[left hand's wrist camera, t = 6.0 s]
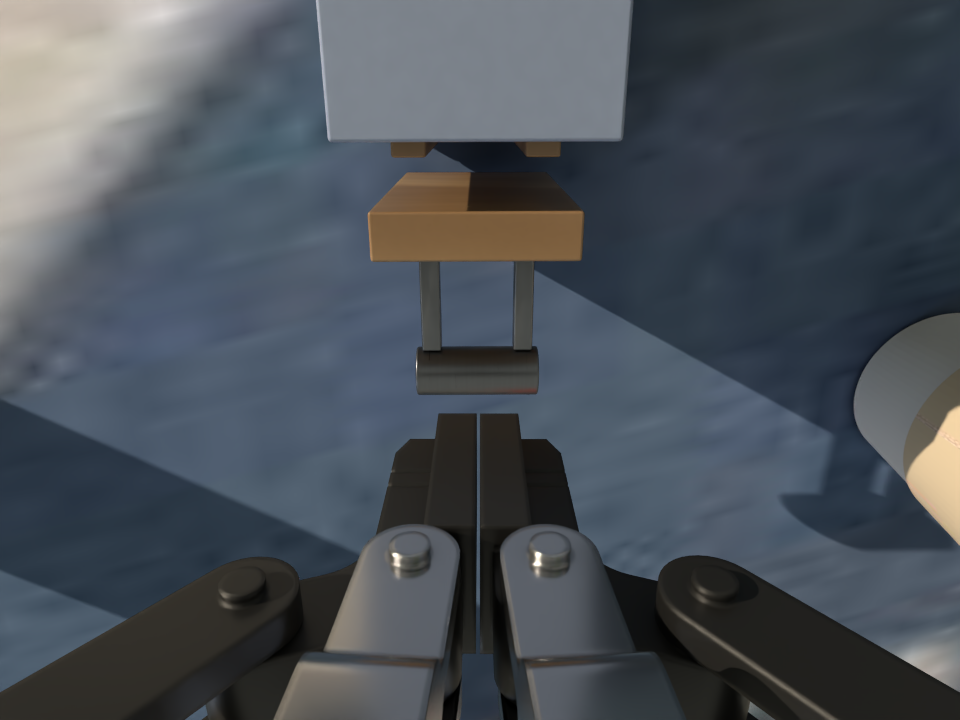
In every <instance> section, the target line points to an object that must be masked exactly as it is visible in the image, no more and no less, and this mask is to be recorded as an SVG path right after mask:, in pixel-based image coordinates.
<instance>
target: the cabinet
mask: <svg viewBox="0 0 960 720" xmlns="http://www.w3.org/2000/svg"><path fill="white" fill-rule="evenodd" d="M633 1H634V0H316V5H317V17H318V28H319V40H320V51H321V63H322V75H323V86H324V98H325V110H326V121H327V133H328V139H329V141H330V142H582V141H621V140H622V139H623V134H624V121H625V108H626V94H627V81H628V68H629V54H630V41H631V28H632V14H633Z"/></svg>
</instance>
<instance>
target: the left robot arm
mask: <svg viewBox="0 0 960 720" xmlns="http://www.w3.org/2000/svg"><path fill="white" fill-rule="evenodd" d="M388 484H389V485H388V487H387V491H386V495H385V500H384V504H383V508H382V512H381V516H380V520H379V524H378V529H377V533H376V535H375V536H374V537H373V538H371V539H370V540H369V541H368V542H367V543H366V545H365V546H364V548H363V550H362V551H361V554H360V557H359V559H358V561H356V562H355V563H353V564H351V565H349V566H347V567H345V568H344V569H341V570H338V571H336V572H333V573H329V574H325V575H321V576H317V577H312V578H308V579H304V580H299V577H298V574H297V572H296V571H295V569H294V568H293V567H292V566H291V565H289V564H288V563H286V562H284V561H282V560H279V559H276V558H270V557H250V558H245V559H240V560H236V561H233V562H230V563H227V564H225V565H222V566H220V567H218V568H216V569H214V570H213V571H211V572H209V573H207V574H206V575H204V576H202V577H200V578H199V579H197V580H195V581H193V582H192V583H190V584H188V585H186V586H185V587H183V588H181V589H180V590H178V591H176V592H174V593H173V594H171V595H169V596H167V597H166V598H164V599H162V600H160V601H159V602H157V603H155V604H153V605H152V606H150V607H148V608H146V609H145V610H143V611H141V612H139V613H138V614H136V615H134V616H133V617H131V618H129V619H127V620H126V621H124V622H122V623H120V624H119V625H117V626H115V627H113V628H112V629H110V630H108V631H106V632H105V633H103V634H101V635H99V636H98V637H96V638H94V639H93V640H91V641H89V642H87V643H86V644H84V645H82V646H80V647H79V648H77V649H75V650H73V651H72V652H70V653H68V654H66V655H65V656H63V657H61V658H59V659H58V660H56V661H54V662H52V663H51V664H49V665H47V666H46V667H44V668H42V669H40V670H39V671H37V672H35V673H33V674H32V675H30V676H28V677H26V678H25V679H23V680H21V681H19V682H18V683H16V684H14V685H12V686H11V687H9V688H7V689H6V690H4V691H2V692H0V720H185V719H186V718H188V717H189V716H190V715H192V714H193V713H194V712H196V711H197V710H198V709H200V708H201V707H203V706H204V705H205V704H206V709H207V714H208V715H207V716H206V717H205V718H203V719H202V720H460V714H461V706H462V654H476V554H477V414H439V415H438V421H437V429H436V436H435V439H410V440H409V441H408V442H407V443H406V444H405V445H404V446H403V447H402V448H401V449H399V450H398V451H397V452H396V454H395V458H394V462H393V466H392V473H391V475H390V479H389V483H388ZM480 654H493V659H494V678H495V682H496V684H497V687H498V706H499V714H500V720H758V719H757V718H755V717H754V716H753V715H751V714H750V713H749V712H748V709H749V704H750V701H751V702H752V703H753V704H755V705H756V706H757V707H759V708H760V709H762V710H763V711H764V712H766V713H767V714H768V715H770V716H771V717H772V718H774V719H775V720H960V692H958V691H956V690H954V689H953V688H951V687H949V686H947V685H946V684H944V683H942V682H941V681H939V680H937V679H935V678H934V677H932V676H930V675H928V674H927V673H925V672H923V671H921V670H920V669H918V668H916V667H914V666H913V665H911V664H909V663H907V662H906V661H904V660H902V659H901V658H899V657H897V656H895V655H894V654H892V653H890V652H888V651H887V650H885V649H883V648H881V647H880V646H878V645H876V644H874V643H873V642H871V641H869V640H867V639H866V638H864V637H862V636H861V635H859V634H857V633H855V632H854V631H852V630H850V629H848V628H847V627H845V626H843V625H841V624H840V623H838V622H836V621H834V620H833V619H831V618H829V617H827V616H826V615H824V614H822V613H820V612H819V611H817V610H815V609H814V608H812V607H810V606H808V605H807V604H805V603H803V602H801V601H800V600H798V599H796V598H794V597H793V596H791V595H789V594H787V593H786V592H784V591H782V590H780V589H779V588H777V587H775V586H774V585H772V584H770V583H768V582H767V581H765V580H763V579H761V578H760V577H758V576H756V575H754V574H753V573H751V572H749V571H747V570H746V569H744V568H742V567H740V566H738V565H736V564H734V563H731V562H729V561H726V560H723V559H719V558H715V557H710V556H700V555H696V556H685V557H680V558H677V559H675V560H673V561H671V562H669V563H668V564H666V565H665V566H664V567H663V569H662V570H661V572H660V574H659V578H658V581H655V580H651V579H646V578H642V577H637V576H633V575H629V574H625V573H622V572H619V571H616V570H614V569H611V568H609V567H607V566H606V565H604V564H603V562H602V559H601V557H600V554H599V551H598V550H597V548H596V546H595V545H594V543H593V542H592V541H591V540H590V539H589V538H587V537H586V536H585V535H583V534H582V533H580V532H579V530H578V525H577V521H576V517H575V512H574V508H573V504H572V499H571V495H570V491H569V487H568V482H567V478H566V473H565V469H564V465H563V460H562V456H561V453H560V452H559V451H558V450H557V449H556V448H555V447H554V446H553V445H552V444H551V443H550V442H549V441H548V440H547V439H521V433H520V425H519V417H518V414H480Z"/></svg>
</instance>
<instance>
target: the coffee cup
mask: <svg viewBox="0 0 960 720" xmlns="http://www.w3.org/2000/svg"><path fill="white" fill-rule="evenodd" d="M854 415H855V420H856V423H857V426H858V428H859V430H860V432H861V433H862V435H863V436H864V438H865V439H866V440H867V441H868V442H869V443H870V444H871V445H872V446H873V447H874V449H875V450H876V451H877V452H878V453H879V454H880V455H881V456H882V457H883V458H884V459H885V460H886V461H887V462H888V463H889V464H890V466H891V467H892V468H893V469H894V470H895V471H896V472H897V473H898V474H899V475H900V476H901V477H902V478H903V479H904V480H905V481H906V483H907V484H908V486H909V488H910V490H911V492H912V493H913V495H914V496H915V498H916V499H917V500H918V501H919V502H920V503H921V504H922V505H923V506H924V507H925V509H926V510H927V511H928V512H929V513H930V514H931V515H932V516H933V517H934V518H935V519H936V520H937V521H938V523H939V524H940V525H941V526H942V527H943V528H944V529H945V530H946V531H947V532H948V533H949V534H950V535H951V537H952V538H953V539H954V540H955V541H956V542H957V543H958V544H959V545H960V313H950V314H943V315H938V316H934V317H931V318H928V319H925V320H922V321H920V322H917V323H915V324H913V325H911V326H909V327H907V328H906V329H904V330H902V331H901V332H899V333H898V334H896V335H895V336H894V337H892V338H891V339H890V340H889V341H887V342H886V343H885V344H884V345H883V346H882V347H881V348H880V349H879V350H878V351H877V352H876V353H875V355H874V356H873V357H872V358H871V360H870V361H869V363H868V364H867V366H866V367H865V369H864V371H863V373H862V374H861V377H860V379H859V381H858V384H857V387H856V391H855V396H854Z"/></svg>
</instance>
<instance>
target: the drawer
mask: <svg viewBox="0 0 960 720" xmlns="http://www.w3.org/2000/svg"><path fill="white" fill-rule="evenodd" d="M437 143H438V142H391V155H392V157H425V156H426V155H427V154H428V153H429V152H430V151H431V150H432V149H433V148H434V147H435V146H436V144H437ZM514 143H515V144H516V145H517V146H518V147H519V148H520V149H521V151H522V152H523V153H524V154H525V155H526V156H527V157H559V156H560V154H561V142H514ZM584 216H585V214H584V211H583V210H582V209H581V208H580V207H579V206H578V205H577V204H576V203H575V202H574V201H573V200H572V199H571V198H570V197H569V196H568V195H567V194H566V192H565V191H564V190H563V189H562V188H561V187H560V186H559V185H558V184H557V183H556V182H555V181H554V180H553V179H552V178H551V177H550V176H549V175H548V174H547V173H546V172H413V173H406V174H405V175H404V176H403V177H402V178H401V179H400V180H399V181H398V183H397V184H396V185H395V186H394V187H393V188H392V189H391V190H390V191H389V192H388V193H387V194H386V195H385V196H384V197H383V198H382V199H381V200H380V201H379V202H378V203H377V204H376V205H375V206H374V207H373V208H372V209H371V210H370V212H369V213H368V226H369V241H370V256H371V261H373V262H419V273H420V299H421V324H422V347H418V348H417V353H416V388H417V393H418V394H419V395H498V394H537V392H538V385H539V358H538V349H537V347H536V346H532V329H533V294H534V261H580V260H581V259H582V251H583V233H584ZM451 261H514V281H513V342H512V343H513V346H458V347H442V324H441V287H440V262H451Z"/></svg>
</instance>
